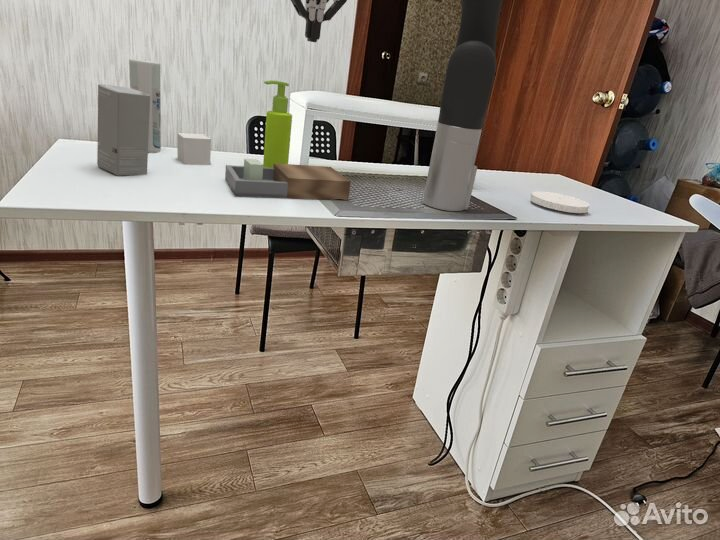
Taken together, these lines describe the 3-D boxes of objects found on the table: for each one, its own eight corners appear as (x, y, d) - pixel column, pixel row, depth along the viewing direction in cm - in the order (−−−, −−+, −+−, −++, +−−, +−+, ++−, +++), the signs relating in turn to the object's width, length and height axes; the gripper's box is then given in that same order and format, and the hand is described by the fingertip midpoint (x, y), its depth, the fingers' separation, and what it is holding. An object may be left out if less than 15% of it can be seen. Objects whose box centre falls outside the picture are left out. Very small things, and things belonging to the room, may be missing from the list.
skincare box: (96, 167, 100) (91, 83, 94) (131, 165, 105) (128, 85, 99) (117, 177, 95) (113, 89, 89) (152, 174, 101) (151, 92, 95)
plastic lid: (517, 199, 129) (520, 190, 128) (559, 201, 135) (562, 192, 134) (554, 216, 118) (557, 206, 117) (598, 217, 123) (602, 208, 122)
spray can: (132, 146, 122) (129, 58, 115) (161, 148, 125) (160, 62, 117) (131, 151, 117) (128, 59, 109) (161, 153, 119) (160, 63, 112)
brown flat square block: (328, 184, 114) (330, 166, 113) (348, 200, 103) (350, 181, 102) (272, 181, 109) (273, 163, 108) (286, 198, 98) (288, 178, 97)
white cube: (210, 165, 116) (211, 139, 113) (183, 165, 112) (183, 137, 110) (203, 159, 120) (203, 134, 118) (177, 159, 117) (177, 132, 115)
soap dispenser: (256, 165, 122) (261, 78, 114) (283, 166, 125) (290, 82, 117) (262, 171, 117) (268, 80, 109) (290, 172, 120) (298, 84, 112)
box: (272, 181, 109) (273, 167, 108) (286, 198, 98) (288, 183, 97) (225, 179, 105) (225, 165, 104) (234, 196, 94) (235, 180, 93)
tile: (256, 159, 101) (244, 158, 100) (263, 164, 97) (250, 164, 96) (255, 183, 103) (243, 183, 102) (261, 190, 99) (248, 189, 98)
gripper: (292, -67, 92) (285, 36, 98) (359, -50, 97) (347, 47, 103) (283, -61, 98) (276, 36, 104) (346, -45, 103) (336, 46, 110)
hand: (312, 41), depth 104 cm, fingers closed
